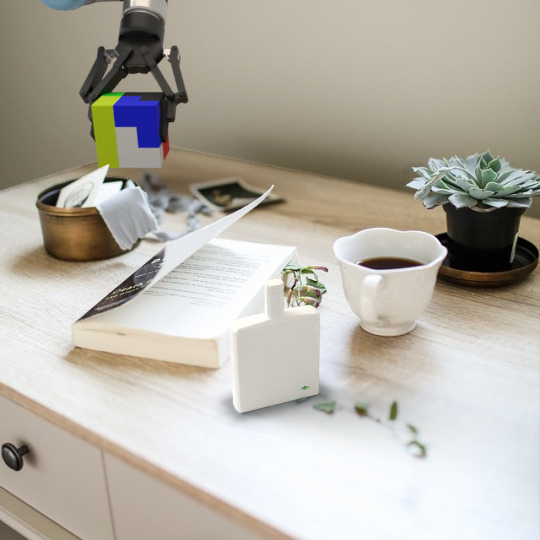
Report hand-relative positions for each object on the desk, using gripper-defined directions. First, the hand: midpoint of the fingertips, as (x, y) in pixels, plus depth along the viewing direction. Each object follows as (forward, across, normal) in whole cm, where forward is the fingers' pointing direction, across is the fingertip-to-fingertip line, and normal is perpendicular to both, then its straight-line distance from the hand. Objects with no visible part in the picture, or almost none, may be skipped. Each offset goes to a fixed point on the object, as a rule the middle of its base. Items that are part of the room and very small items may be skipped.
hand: (128, 138), depth 108 cm
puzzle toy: (+1, 0, -5) cm, 5 cm away
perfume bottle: (+45, -28, +32) cm, 62 cm away
